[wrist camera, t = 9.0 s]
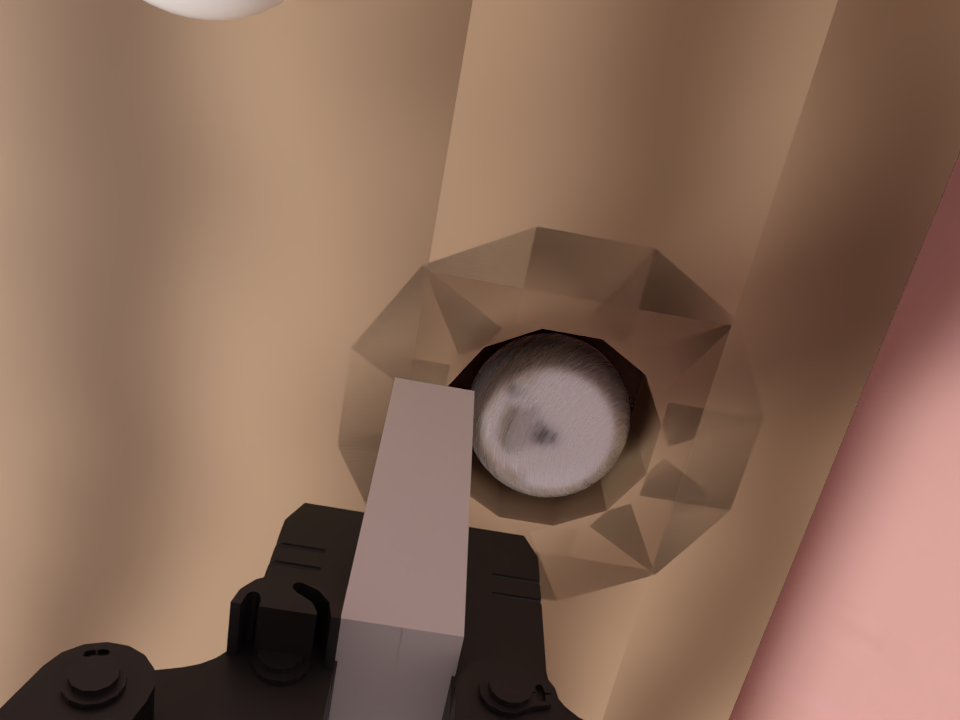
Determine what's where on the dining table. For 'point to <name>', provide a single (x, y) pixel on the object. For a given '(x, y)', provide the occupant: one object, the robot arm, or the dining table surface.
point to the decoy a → (215, 8)
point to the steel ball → (549, 415)
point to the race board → (447, 295)
